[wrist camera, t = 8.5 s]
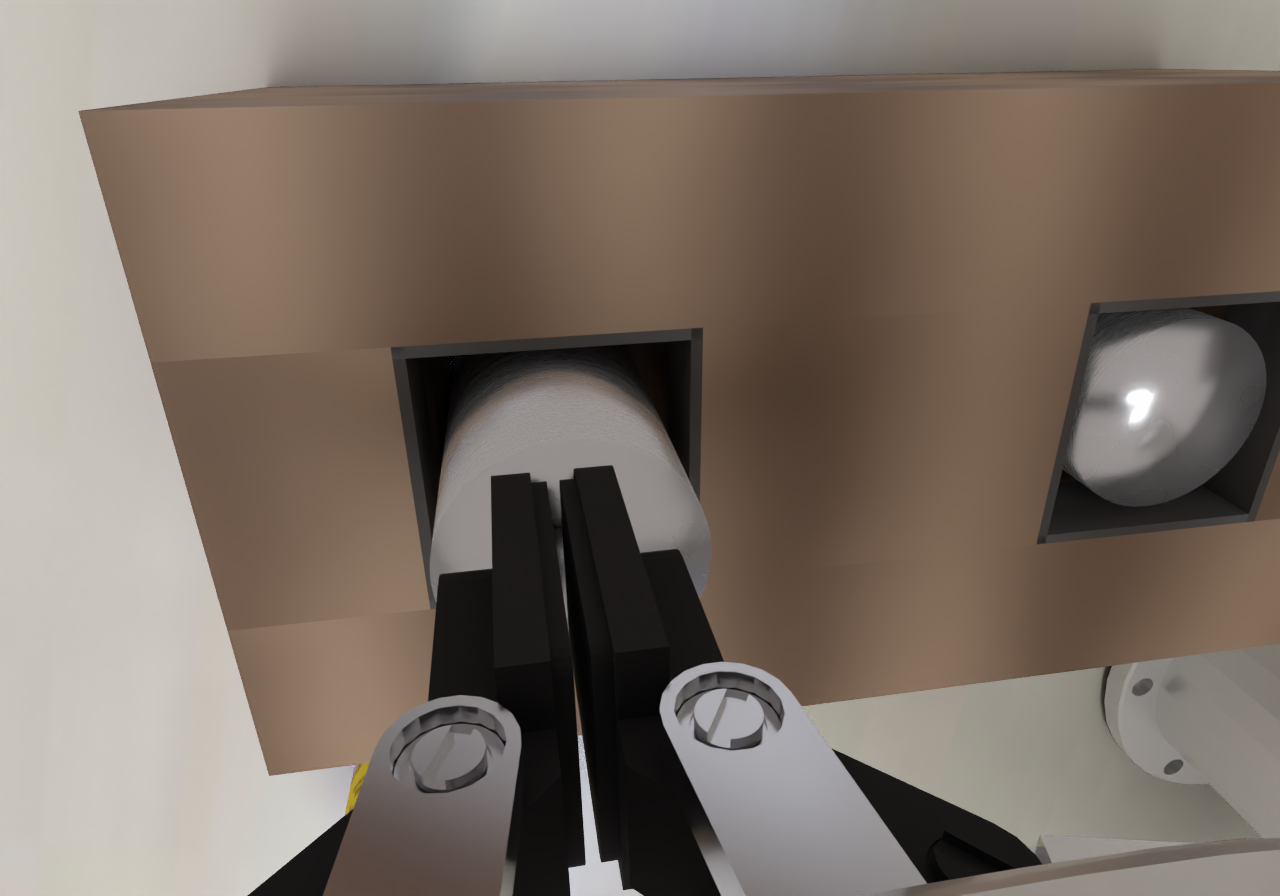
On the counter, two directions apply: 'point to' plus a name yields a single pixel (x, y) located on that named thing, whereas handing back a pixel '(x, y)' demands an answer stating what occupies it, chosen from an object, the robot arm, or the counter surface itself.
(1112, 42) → the counter surface
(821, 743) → the robot arm
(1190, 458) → the grey rounded cylinder
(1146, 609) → the walnut block
